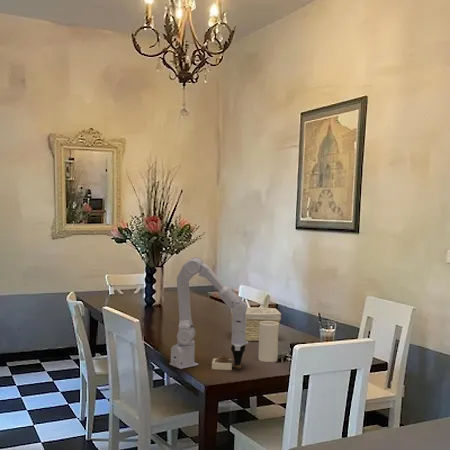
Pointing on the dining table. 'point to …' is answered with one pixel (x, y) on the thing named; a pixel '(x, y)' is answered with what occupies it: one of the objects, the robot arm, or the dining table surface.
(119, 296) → the dining table surface
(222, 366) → the small tray
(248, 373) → the dining table surface
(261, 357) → the cup
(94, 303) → the dining table surface
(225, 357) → the tan rounded-end part
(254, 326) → the storage basket
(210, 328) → the dining table surface
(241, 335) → the robot arm
